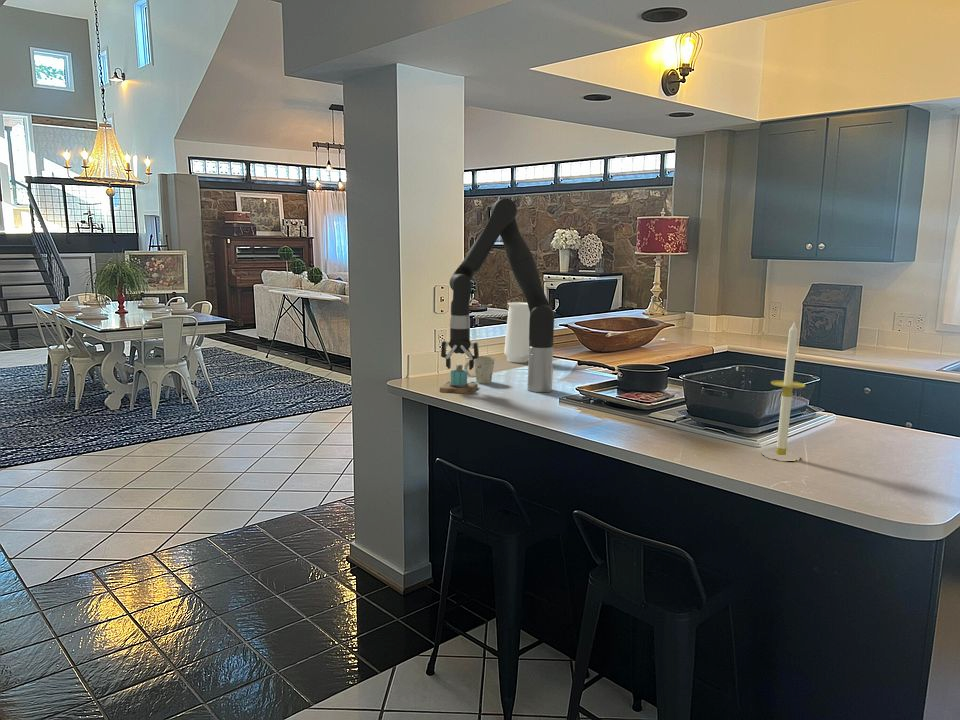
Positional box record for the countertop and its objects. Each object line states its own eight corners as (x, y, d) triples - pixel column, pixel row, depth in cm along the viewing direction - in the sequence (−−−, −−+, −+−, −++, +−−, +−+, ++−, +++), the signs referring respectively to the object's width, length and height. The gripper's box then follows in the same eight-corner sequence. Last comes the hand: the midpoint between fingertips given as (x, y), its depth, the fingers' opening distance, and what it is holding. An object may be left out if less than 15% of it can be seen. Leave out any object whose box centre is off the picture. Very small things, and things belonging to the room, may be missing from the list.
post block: (477, 387, 264) (478, 363, 262) (470, 393, 252) (470, 369, 250) (447, 385, 266) (448, 361, 265) (439, 391, 255) (439, 367, 253)
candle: (771, 448, 191) (784, 317, 185) (807, 457, 184) (821, 320, 177) (754, 455, 184) (767, 319, 178) (790, 464, 177) (805, 323, 171)
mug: (491, 384, 269) (492, 360, 268) (461, 382, 272) (461, 358, 270) (495, 380, 277) (496, 356, 276) (465, 378, 280) (466, 355, 278)
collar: (468, 382, 261) (468, 370, 260) (464, 385, 255) (464, 372, 254) (453, 381, 262) (453, 369, 261) (449, 384, 256) (449, 371, 256)
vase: (518, 357, 335) (520, 301, 330) (536, 361, 325) (538, 303, 321) (498, 360, 327) (500, 302, 322) (516, 364, 317) (518, 305, 312)
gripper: (480, 326, 257) (480, 368, 260) (444, 325, 260) (444, 366, 263) (476, 328, 250) (475, 371, 252) (439, 327, 253) (439, 369, 255)
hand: (459, 368), depth 257 cm, fingers open, 8 cm apart
